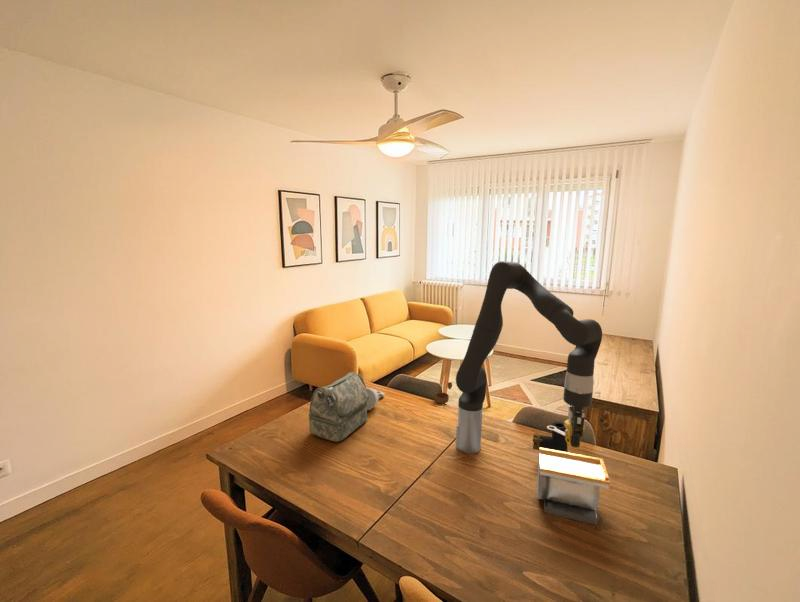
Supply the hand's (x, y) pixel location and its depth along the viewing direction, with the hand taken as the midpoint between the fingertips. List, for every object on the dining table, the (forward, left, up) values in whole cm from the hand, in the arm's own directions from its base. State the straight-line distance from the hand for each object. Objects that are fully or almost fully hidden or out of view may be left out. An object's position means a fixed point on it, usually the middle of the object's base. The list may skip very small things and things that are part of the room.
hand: (573, 440), depth 109 cm
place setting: (-51, +61, -22) cm, 83 cm away
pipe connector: (-4, +22, -22) cm, 31 cm away
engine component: (-86, +44, -23) cm, 99 cm away
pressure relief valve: (-2, +1, -2) cm, 4 cm away
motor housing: (0, 0, -21) cm, 21 cm away
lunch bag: (-89, +18, -22) cm, 93 cm away
